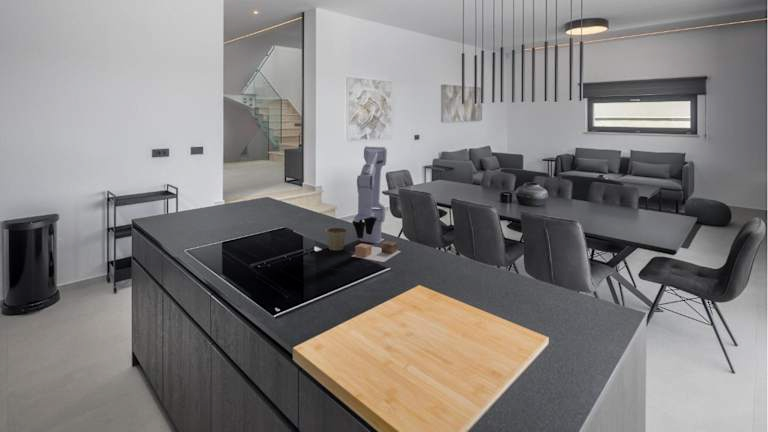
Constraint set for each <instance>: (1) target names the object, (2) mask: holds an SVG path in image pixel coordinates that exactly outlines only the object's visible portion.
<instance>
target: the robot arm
mask: <svg viewBox="0 0 768 432" xmlns="http://www.w3.org/2000/svg"><path fill="white" fill-rule="evenodd" d="M387 150H388V149H387V147H386V146H367V145H365V146H364V148H363V159H364V161H365V164H363V166H362V169H361V172H360V174H359V175H357V178H356V187H357V193H358V197H357V200H358V203H357V204H358V206H357V212H358V213H357V214H356V215H355V216H354V217H353V218H354V219H353V220H352V222H351V223H352V225H353V227H354V228H355V232H356V237H357V238H358V239H359V241H360V242H364V243H365V242H366V243H371V244H380V243H381V242H383V241H385V238H382V223H384V222H385V220H386V208H385V205H384V204H383V203H381V202H380V198H381V197H380V196H381V177H382V174H381V173H382V168H383V167H384V166H386V164H387V157H388V156H387V154H388V152H387Z"/></svg>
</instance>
